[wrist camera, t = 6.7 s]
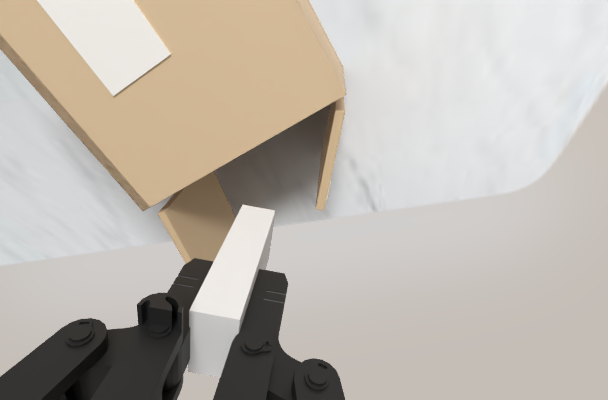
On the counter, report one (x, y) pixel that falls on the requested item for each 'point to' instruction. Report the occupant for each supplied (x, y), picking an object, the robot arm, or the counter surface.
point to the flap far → (198, 218)
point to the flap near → (329, 150)
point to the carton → (172, 79)
